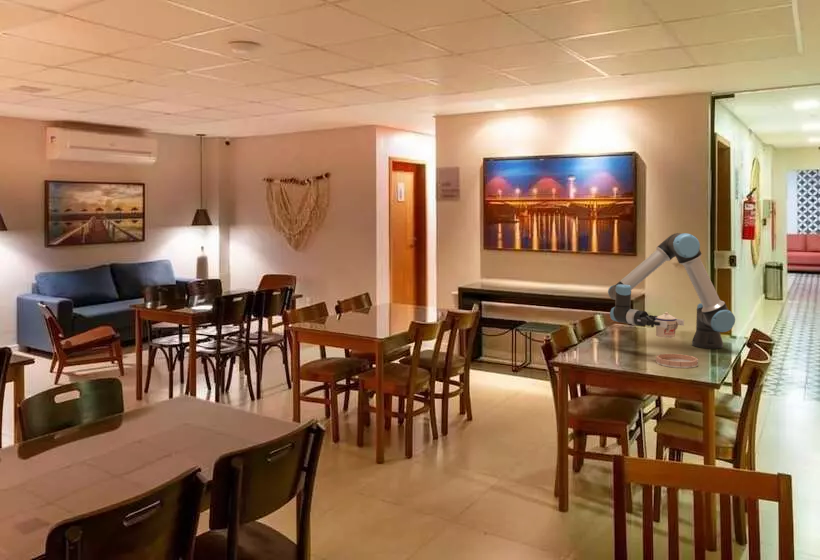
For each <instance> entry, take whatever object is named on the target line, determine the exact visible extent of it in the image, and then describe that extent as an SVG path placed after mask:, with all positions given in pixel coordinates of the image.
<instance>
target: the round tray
mask: <svg viewBox="0 0 820 560" xmlns="http://www.w3.org/2000/svg"><path fill="white" fill-rule="evenodd" d="M655 361H656V364H658V365H659V366H663V367H668V368H676V369H691V368H692V369H693V368H696V367H698V364H699V358H697V357H695V356H692V355H686V354H682V353H681V354H679V353H662V354H661V353H660V354H657V355H656V357H655Z"/></svg>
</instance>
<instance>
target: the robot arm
mask: <svg viewBox="0 0 820 560" xmlns="http://www.w3.org/2000/svg"><path fill="white" fill-rule="evenodd" d="M700 248H701V244H700V240H699V239H698V238H697V237H696V236H694V235H693V234H691V233H685V232H684V233H681V232H677V233H676V232H675V233H673V234H671V235H668V237H667V238H665V239H664V240H663V241H662V242H661V243H660V244H659V245H658V246H656V249H655V251H653V253H651V254H650V255H649V256H648V257H646V259H644V260H643V261H642V262H641V263H639V264H638V265H637V266H636V267H634V268H633V269H632V270H631V271H630V272H629V273H628V274H626V275H625V276H624V277H623V278H622V279H621V280H619V281H618V282H617V283H615V284H614V285H611V286H609V288H608V290H607V294H608V296H609V297H610V299H612V300H614V301H615V303H614V306H613V307H611V309H610V311H609V317H610V319H611V320H612V321H613V322H618V323H621V324H622V323H623V324H629V325H631V326H635V325H636V326H641V327H646V326H648V327H649V326H650V328H654V327H656V326H658V327H664V328H667V322H664V321H658V320H657V319H656V317H657V316H658V315H653V314H652V315H650V314H649V313H648V312H647V311H645V310H639V309H632V308H631V304H632V303H631V302H632V301H631V300H632V290H634V289H635V288H636V287H637V286H638V285H640V283H642V282H643V281H644V280H645V279H646V278H648V277H649V276H650V275H651V274H652V273H654V272H655V271H656V270H657V269H659V268H660V266H662V265H664V263H666V262H667V261H668V262H670V261H671V260H672V259H673V258H675V259H676V260H677V262H678V264H679V265H682V266H683V267H684V270H685V271H686V273H687V276H688V278H689V280H690V282H691V285H692V286H693V288H694V290H695V292H696V294H697V296H698V299H699V301H700V302H699V303H698V304H697V306H696V323H695V325H696V326H695V333H694V336H693V338H692V340H691V346H693V347H695V348H701V349H702V348H703V349H712V350H715V349H722V348H723V347H724V341H723V339H722V335H721V333H726V332H730V331H731V329H733V327H734V325H735V324H736V316H735V315H734V313H733V312H732V311H731V310H729V308H728V306H727V304H726V302H725V301H723V300H721V299H720V297H719V294H718V292H717V290H716V288H715V286H714V284H713V282H712V281H711V278H710V276H709V274H708V272H707V269H706V267H705V265H704V263H703V262H702V261H703V260H702V259H701V257H702V255H703V254H702V251H701V249H700ZM676 321H677V322H678V326H683V327H684V326H685V319H680V318H676Z"/></svg>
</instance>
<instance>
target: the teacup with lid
mask: <svg viewBox="0 0 820 560" xmlns="http://www.w3.org/2000/svg"><path fill="white" fill-rule="evenodd" d="M656 316H657V317H656V319H657V320H658V321H664V322H667V328H664V327H658V326H655V327H656V328H655V336H656V337H658V338H664V339H665V338H666V339H667V338H668V339H672V338H675V337H676V331H677V330H678V328H679V325H678V322H677V321H676V319H677V317H675V316H673V315H671V314H669V312H668V311H664V313H663V314H660V315H656Z"/></svg>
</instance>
